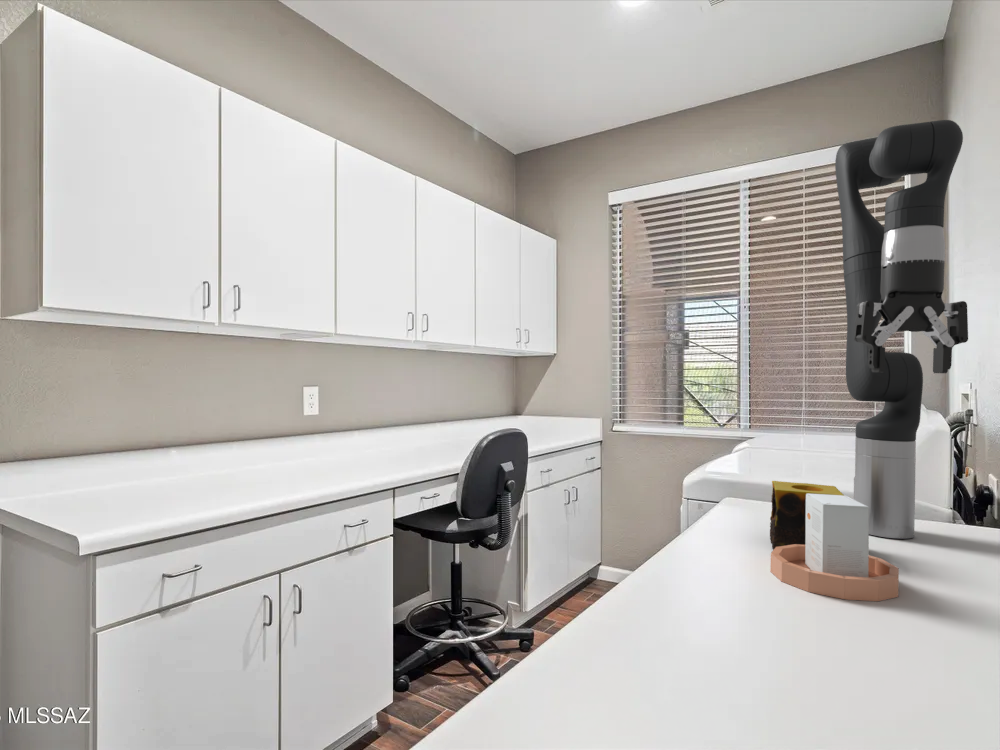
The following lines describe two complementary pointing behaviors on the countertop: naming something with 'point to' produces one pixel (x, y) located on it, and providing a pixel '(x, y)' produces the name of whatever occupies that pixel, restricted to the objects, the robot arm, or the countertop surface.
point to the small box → (837, 535)
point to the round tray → (835, 577)
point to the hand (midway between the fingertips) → (908, 372)
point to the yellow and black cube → (792, 511)
